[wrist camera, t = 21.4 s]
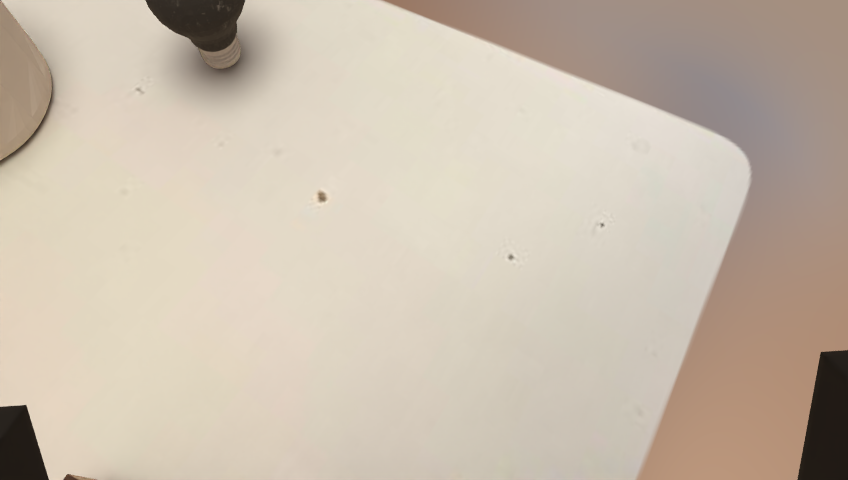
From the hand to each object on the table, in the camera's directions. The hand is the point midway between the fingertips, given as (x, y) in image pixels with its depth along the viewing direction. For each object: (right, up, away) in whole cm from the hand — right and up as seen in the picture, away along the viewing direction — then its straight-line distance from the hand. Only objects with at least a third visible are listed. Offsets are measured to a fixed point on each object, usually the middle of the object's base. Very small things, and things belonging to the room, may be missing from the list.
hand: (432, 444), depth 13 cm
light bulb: (-13, +15, +36) cm, 41 cm away
